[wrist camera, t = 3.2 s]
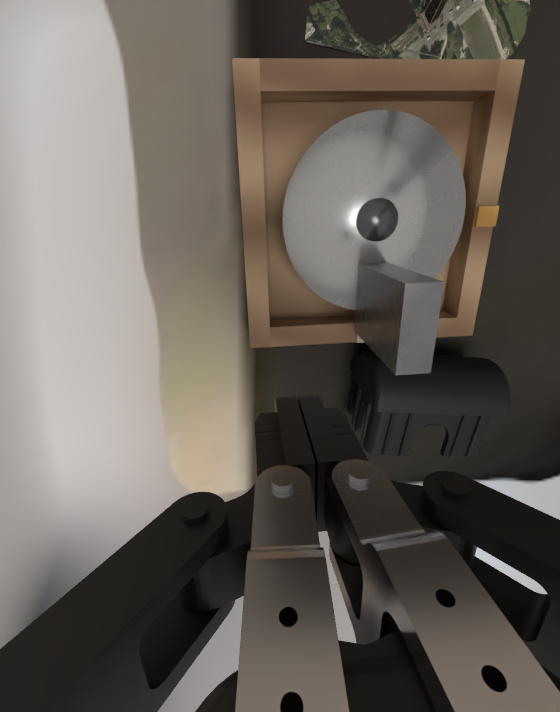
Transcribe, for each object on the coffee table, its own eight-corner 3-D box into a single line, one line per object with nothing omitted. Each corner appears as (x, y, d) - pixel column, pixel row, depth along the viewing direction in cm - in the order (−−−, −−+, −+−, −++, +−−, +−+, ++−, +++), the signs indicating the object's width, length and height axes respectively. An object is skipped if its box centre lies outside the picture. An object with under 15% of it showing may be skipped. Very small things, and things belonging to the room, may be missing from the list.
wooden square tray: (234, 84, 22) (231, 55, 18) (480, 84, 23) (529, 57, 19) (249, 330, 28) (250, 349, 24) (443, 320, 29) (474, 336, 25)
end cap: (466, 344, 30) (524, 378, 24) (444, 415, 33) (491, 463, 27) (354, 336, 29) (384, 370, 23) (340, 411, 32) (364, 460, 25)
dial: (277, 119, 20) (299, 54, 12) (461, 117, 21) (599, 56, 13) (282, 326, 25) (300, 381, 17) (432, 318, 26) (520, 367, 18)
